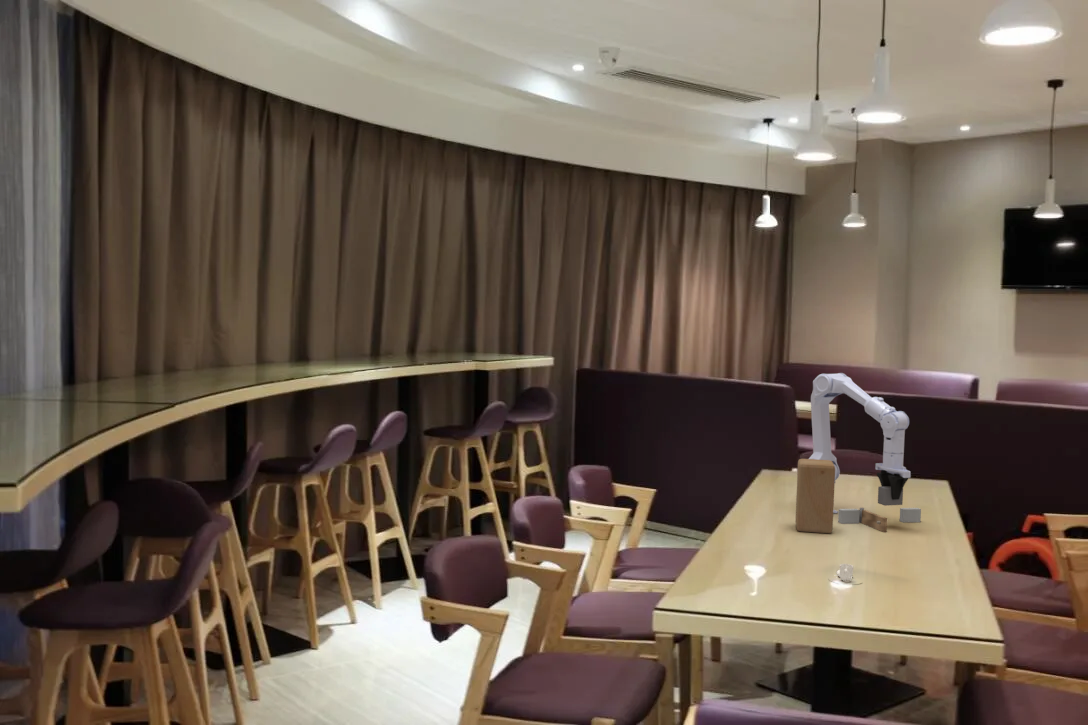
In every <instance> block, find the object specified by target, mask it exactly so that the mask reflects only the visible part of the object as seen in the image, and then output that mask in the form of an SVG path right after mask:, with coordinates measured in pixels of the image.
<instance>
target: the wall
mask: <svg viewBox="0 0 1088 725" xmlns="http://www.w3.org/2000/svg"><path fill="white" fill-rule="evenodd" d="M862 510H865V508H864V507H859V509H858V508H839V509H838V513H837V515H838V516H837V517H838V518H837V519H838V520H837V522H838V523H840V525H841V524H844V525H845V524H862ZM921 515H922V508H918V507H899V522H901V523H921V520H922V519H921V518H922V516H921ZM859 522H860V523H859Z"/></svg>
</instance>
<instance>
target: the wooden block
mask: <svg viewBox="0 0 1088 725" xmlns="http://www.w3.org/2000/svg"><path fill="white" fill-rule="evenodd" d="M796 474H797V476H796V496H795V497H796V499H795V500H796V501H795V521H794V522H795V527H796V530H797V531H798V532H801V533H813V534H814V533H817V534H818V533H819V534H832V532H833V529H834V528H833V526H834V513H833V509H834V508H835V507H834V505H835V503H834V501H835V485H836V480H835V466H834V464H833V462H832V461H830V460H817V459H809V458H800V459H798V461H797V473H796Z"/></svg>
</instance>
